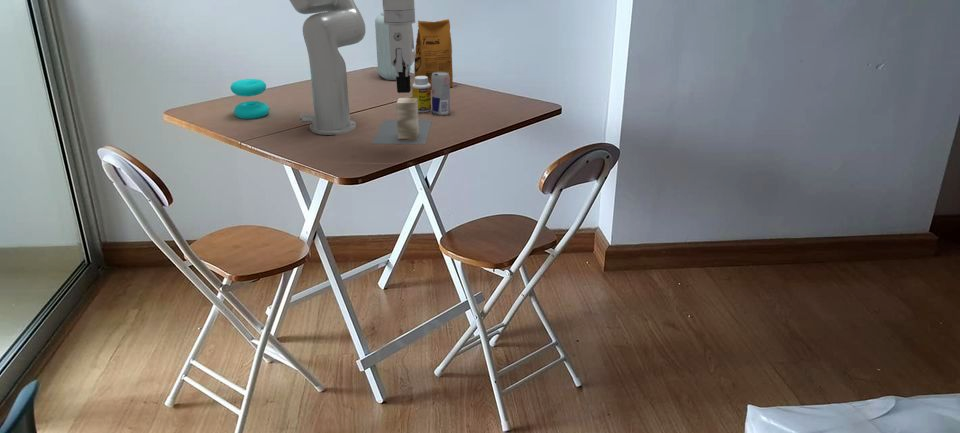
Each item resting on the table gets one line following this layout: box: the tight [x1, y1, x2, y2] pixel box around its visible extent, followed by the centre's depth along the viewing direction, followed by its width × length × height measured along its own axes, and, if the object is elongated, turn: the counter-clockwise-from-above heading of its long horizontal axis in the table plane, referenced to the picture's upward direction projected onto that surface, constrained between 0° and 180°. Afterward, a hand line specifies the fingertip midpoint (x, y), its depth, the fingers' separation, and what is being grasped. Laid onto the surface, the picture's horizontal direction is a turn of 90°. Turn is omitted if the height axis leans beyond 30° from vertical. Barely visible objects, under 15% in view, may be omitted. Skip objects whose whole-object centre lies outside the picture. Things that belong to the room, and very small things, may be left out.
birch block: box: [395, 97, 419, 140], centre depth 196 cm, size 5×5×10 cm
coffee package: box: [413, 18, 454, 89], centre depth 245 cm, size 10×12×22 cm
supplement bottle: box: [411, 76, 432, 114], centre depth 221 cm, size 6×6×10 cm
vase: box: [374, 12, 411, 81], centre depth 257 cm, size 12×12×22 cm
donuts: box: [230, 78, 270, 120], centre depth 216 cm, size 10×10×10 cm
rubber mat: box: [371, 119, 433, 145], centre depth 203 cm, size 14×22×1 cm, turn 178°
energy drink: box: [431, 72, 451, 117], centre depth 217 cm, size 5×5×12 cm
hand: (404, 91), depth 184 cm, fingers closed
